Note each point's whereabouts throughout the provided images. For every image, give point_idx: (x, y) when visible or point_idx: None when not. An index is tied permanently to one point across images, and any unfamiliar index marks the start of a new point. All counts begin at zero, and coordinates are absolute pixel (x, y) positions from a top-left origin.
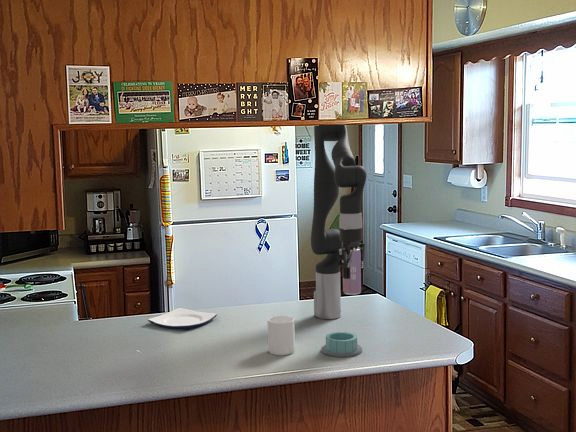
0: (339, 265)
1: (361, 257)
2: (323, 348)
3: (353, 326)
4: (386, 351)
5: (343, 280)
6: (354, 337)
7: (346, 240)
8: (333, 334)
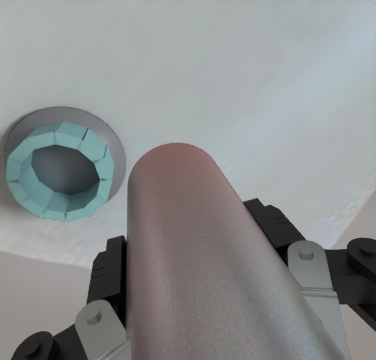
0: (22, 352)
1: (362, 316)
2: (20, 131)
3: (270, 9)
4: None
5: (131, 203)
6: (86, 209)
7: None
8: (57, 143)
